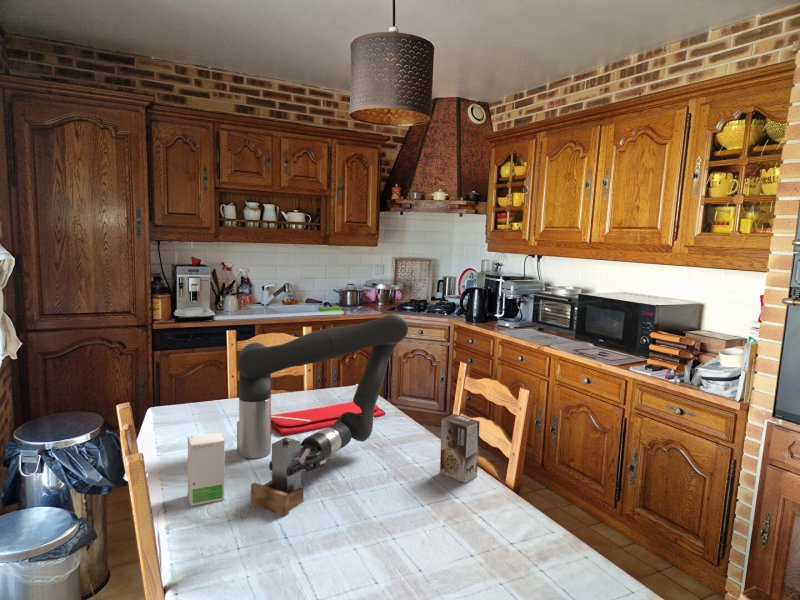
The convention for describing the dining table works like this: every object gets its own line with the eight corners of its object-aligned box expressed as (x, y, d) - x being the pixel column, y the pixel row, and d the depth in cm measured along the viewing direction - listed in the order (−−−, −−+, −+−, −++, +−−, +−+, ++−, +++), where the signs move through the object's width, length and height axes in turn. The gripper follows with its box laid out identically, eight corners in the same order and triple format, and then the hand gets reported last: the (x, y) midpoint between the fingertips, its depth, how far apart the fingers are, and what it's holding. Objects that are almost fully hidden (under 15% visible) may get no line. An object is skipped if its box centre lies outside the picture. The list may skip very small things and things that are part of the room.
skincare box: (189, 507, 125) (188, 445, 123) (187, 494, 131) (185, 435, 129) (226, 499, 129) (225, 440, 127) (221, 488, 134) (221, 430, 132)
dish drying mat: (386, 416, 192) (386, 407, 192) (281, 439, 169) (281, 428, 168) (364, 404, 205) (364, 395, 204) (264, 424, 181) (264, 413, 181)
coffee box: (478, 476, 145) (481, 421, 143) (464, 483, 141) (467, 427, 139) (452, 465, 152) (454, 412, 150) (438, 472, 147) (440, 418, 145)
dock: (251, 503, 127) (250, 484, 127) (272, 490, 134) (272, 472, 133) (285, 516, 122) (285, 496, 121) (305, 502, 129) (306, 483, 128)
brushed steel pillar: (272, 497, 129) (271, 440, 127) (285, 488, 134) (285, 434, 132) (287, 502, 127) (287, 445, 125) (300, 493, 131) (300, 438, 129)
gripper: (300, 427, 145) (257, 448, 130) (343, 437, 138) (301, 462, 123) (301, 452, 146) (257, 476, 131) (342, 464, 139) (301, 491, 124)
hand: (279, 469), depth 127 cm, fingers closed on brushed steel pillar, 5 cm apart
